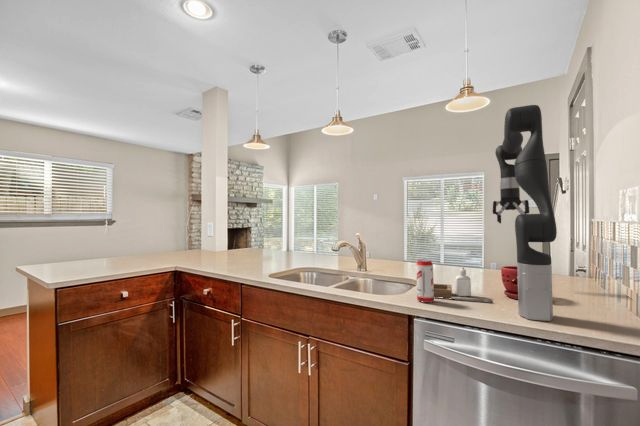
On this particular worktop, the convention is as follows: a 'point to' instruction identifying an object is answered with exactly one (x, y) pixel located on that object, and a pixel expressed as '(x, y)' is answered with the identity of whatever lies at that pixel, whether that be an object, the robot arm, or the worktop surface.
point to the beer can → (425, 280)
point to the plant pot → (510, 281)
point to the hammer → (446, 292)
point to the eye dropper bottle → (463, 284)
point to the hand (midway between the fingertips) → (510, 223)
